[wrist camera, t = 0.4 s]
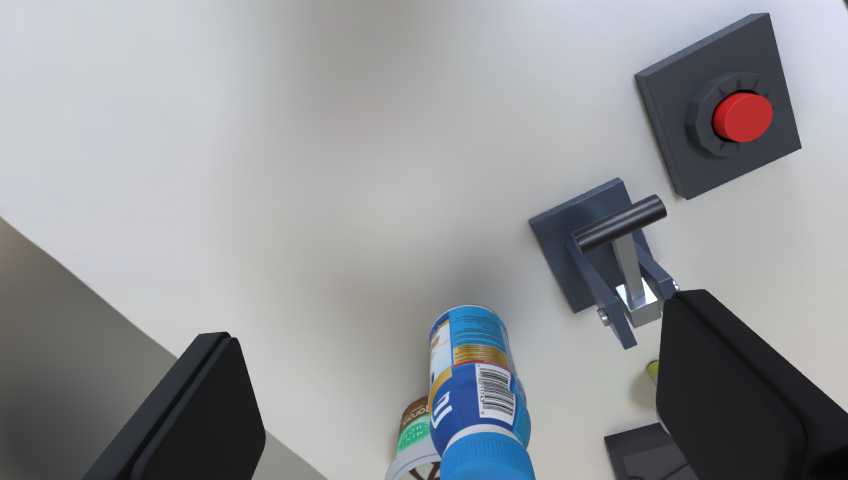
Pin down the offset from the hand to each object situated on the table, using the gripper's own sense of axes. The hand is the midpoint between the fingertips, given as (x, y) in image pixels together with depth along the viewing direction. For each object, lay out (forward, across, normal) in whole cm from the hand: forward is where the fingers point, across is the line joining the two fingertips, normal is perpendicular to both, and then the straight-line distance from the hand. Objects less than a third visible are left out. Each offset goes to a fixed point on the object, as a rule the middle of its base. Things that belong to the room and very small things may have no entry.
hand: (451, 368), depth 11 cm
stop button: (+31, -24, +1) cm, 40 cm away
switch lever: (+23, -12, +9) cm, 28 cm away
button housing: (+35, -24, +1) cm, 43 cm away
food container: (+36, +5, +32) cm, 48 cm away
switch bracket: (+35, -14, +13) cm, 40 cm away
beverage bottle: (+36, -1, +22) cm, 42 cm away
